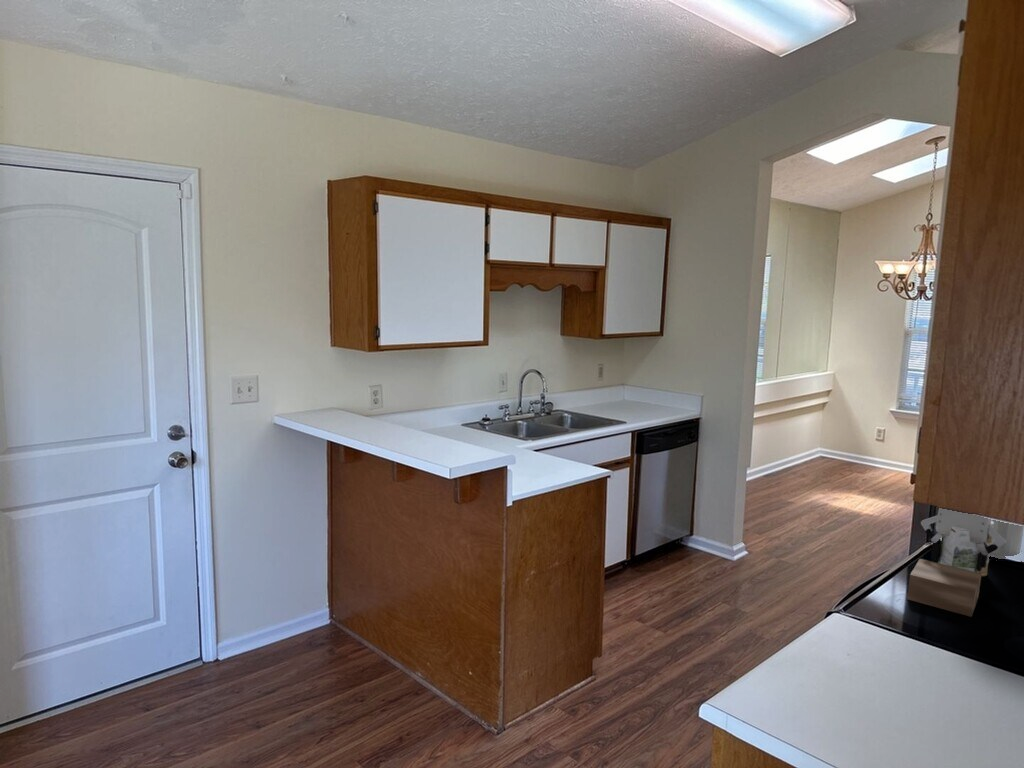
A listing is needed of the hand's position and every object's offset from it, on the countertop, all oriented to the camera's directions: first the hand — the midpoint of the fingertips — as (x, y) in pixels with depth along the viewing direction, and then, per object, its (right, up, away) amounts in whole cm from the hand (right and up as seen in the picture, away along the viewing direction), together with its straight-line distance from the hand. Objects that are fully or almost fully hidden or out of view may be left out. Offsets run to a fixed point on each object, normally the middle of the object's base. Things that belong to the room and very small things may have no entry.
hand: (957, 563), depth 159 cm
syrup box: (0, -5, +1) cm, 5 cm away
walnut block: (-8, -6, -7) cm, 12 cm away
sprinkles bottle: (+9, -4, +7) cm, 12 cm away
